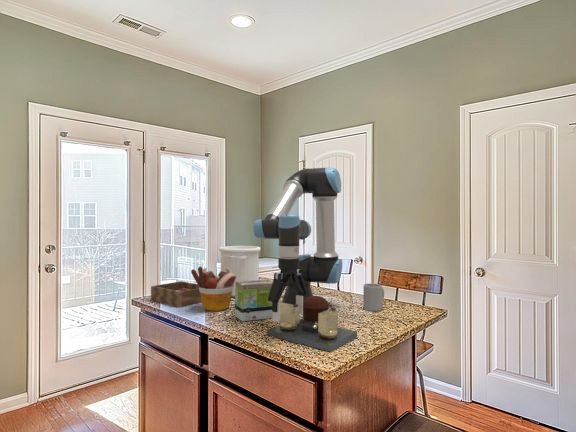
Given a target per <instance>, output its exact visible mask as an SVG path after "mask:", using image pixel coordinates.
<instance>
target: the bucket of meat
mask: <svg viewBox="0 0 576 432" xmlns="http://www.w3.org/2000/svg"><path fill="white" fill-rule="evenodd" d="M226 272H227V273H226ZM226 272H223V271H221V270H219V273H218V274H215V273H214V272H213V271H212V270H209V271H208V268H207V267H204V268H203V266H198V268H197V270H196V269H191V271H190V273H191V275H192V277H193V278H194V281H195V283H196V284H198V287H199V291H200V296H201V301H202V303H201V305H202V308H203V309H204V310H205V311H208V312H221V311H225V310H227V309H228V308H229V307H230V306H231V305H230V303H231V298H232V297H231V296H232V291H233V288H234V285H233V284H234V282H235V279H236V275H235V274H233V272H232V271H230V269H229V268H226Z"/></svg>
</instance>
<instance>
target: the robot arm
mask: <svg viewBox="0 0 576 432" xmlns="http://www.w3.org/2000/svg"><path fill="white" fill-rule="evenodd" d="M341 192H342V179H341V176H340V173H339V170H338V169H337V168H335V167H315V168H313V167H312V168H303V169H301V170H298V171H296V172H294V173H293V174H292V175H290V177H288V178H287V179H286V180H285V182H284V184H283V187H282V190H281V193H280V194H279V196H278V197H277V199H276V200H275V202H274V203H273V205H272V206H271V207H270V210H269V211H268V212H267V214H266V216H265V217H264V219H262V218H261V219H256V220H255V221H254V223H253V226H252V229H253V235H254V237H256V238H257V239H263V240H268V239H269V240H278V247H277V248H278V249H277V250H278V254H277V255H278V257H279V258H278V261H277V262H278V269H279V270H280V272H274V274H273V281H272V282H273V283H272V287H271V290H270V293H269V296H268V301H270V302H272V312H273V318H272V321H273V322H277V323H280V303H281V302H280V300H281V298H282V303H286V304H292V305H294V304H297V305H298V306H300V315H303V301H304V300H305V299H306V298H308V297H310V296H314V295H313V291H312V287H311V285H312V284H311V283H318V284H327V285H329V284H330V285H331V284H332V285H333V284H337V283H338V282H339V281H340V279H341V276H342V272H343V271H342V270H343V260H342V258H339V254H338V252H336V246H335V245H336V243H335V242H336V239H335V238H336V237H335V236H336V235H335V233H336V231H335V228H336V227H335V226H336V225H335V200H337V198H338V194H339V193H341ZM304 194H312V195H311V196H312V199H313V200H314V201H315V229H316V230H315V232H316V235H315V237H316V238H315V239H316V240H315V241H316V251H315V253H313V257H312V255H311V254H300V241H301V240H305V239H307V238H309V237H310V236H311V233H312V226H311V224H310V222H308V221H306V220H305V219H300V215H298V214H290V212H291V211H292V209H293V207H294V206H295V204H296V201H297V200H298V199H299V198H301V197H302V195H304ZM283 293H284V294H283ZM282 295H283V297H282Z"/></svg>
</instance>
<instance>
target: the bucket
mask: <svg viewBox="0 0 576 432" xmlns="http://www.w3.org/2000/svg"><path fill="white" fill-rule="evenodd" d="M261 250H262V249H261V247H260V246H254V245H230V246H229V245H227V246H219V247H218V251H219V252H220V271H223V272H226V268H229V269H230V271H232V272H233V274H235V275H236V279H235V282H234V284H233V285H234V288H233V291H232V296H231V298H235V286H236V282H238V281H254V280H260V279H259V278H260V277H259V262H260V261H259V260H260V259H259V255H260V253H259V252H261ZM226 273H227V272H226Z"/></svg>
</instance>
